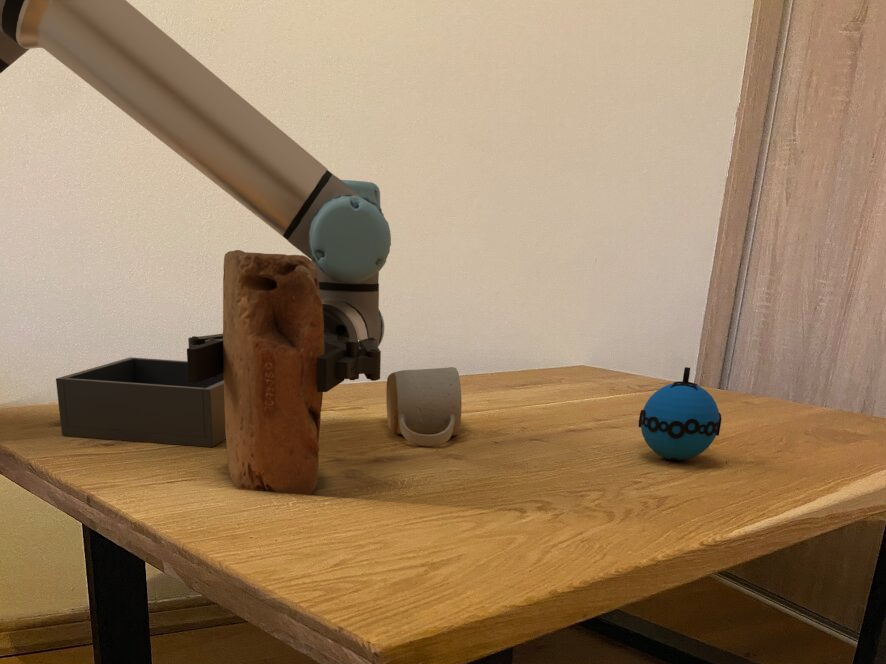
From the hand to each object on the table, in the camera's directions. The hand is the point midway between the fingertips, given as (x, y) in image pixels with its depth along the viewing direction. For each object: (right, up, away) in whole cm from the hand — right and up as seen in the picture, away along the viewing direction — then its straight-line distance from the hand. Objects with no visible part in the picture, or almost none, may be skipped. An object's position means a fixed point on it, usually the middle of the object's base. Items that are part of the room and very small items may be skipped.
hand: (256, 370), depth 76 cm
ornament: (+41, -3, +27) cm, 49 cm away
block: (0, -9, +8) cm, 12 cm away
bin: (-16, +1, +30) cm, 34 cm away
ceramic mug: (+13, 0, +31) cm, 34 cm away
